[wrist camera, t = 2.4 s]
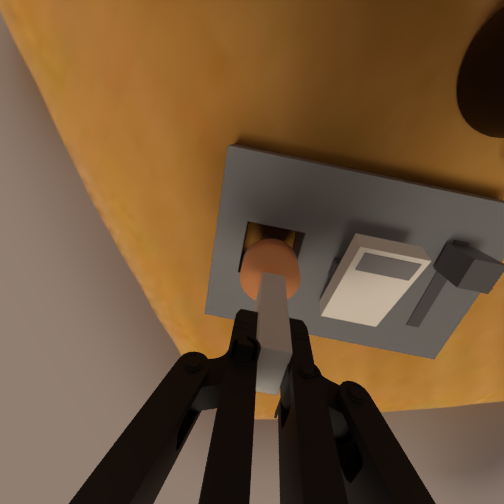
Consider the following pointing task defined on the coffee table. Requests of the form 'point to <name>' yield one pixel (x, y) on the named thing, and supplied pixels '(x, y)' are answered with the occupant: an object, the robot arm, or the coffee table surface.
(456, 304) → the panel
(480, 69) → the mug
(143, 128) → the coffee table surface
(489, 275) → the slider
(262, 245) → the button
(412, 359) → the coffee table surface
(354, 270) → the rocker
